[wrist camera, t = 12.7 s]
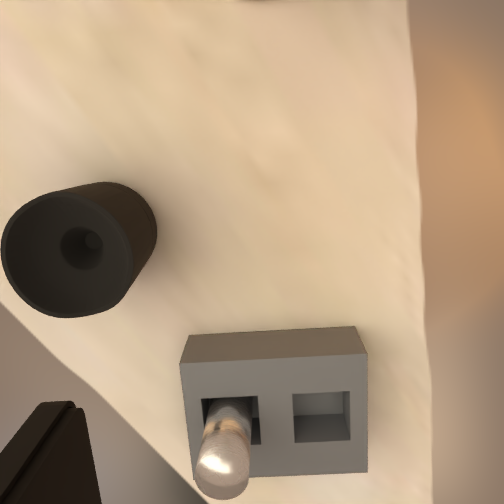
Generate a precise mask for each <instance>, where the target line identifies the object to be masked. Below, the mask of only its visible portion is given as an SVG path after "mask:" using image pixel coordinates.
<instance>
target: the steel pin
mask: <svg viewBox="0 0 504 504" xmlns="http://www.w3.org/2000/svg"><path fill="white" fill-rule="evenodd" d="M252 411H253V396H243V397H223V398H211V401H210V406H209V411H208V415H207V420H206V424H205V429H204V433H203V438H202V442H201V447H200V451H199V456H198V461H197V465H196V470H195V482H196V484H197V486H198V488H199V489H200V490H201V491H202V492H203V493H204V494H205V495H207V496H208V497H211V498H213V499H217V500H228V499H232V498H235V497H237V496H238V495H240V494H241V493H242V492H243V491H244V490H245V488H246V487H247V484H248V479H249V463H250V445H251V428H252Z"/></svg>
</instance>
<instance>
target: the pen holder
mask: <svg viewBox="0 0 504 504" xmlns="http://www.w3.org/2000/svg"><path fill="white" fill-rule="evenodd" d="M156 239H157V226H156V221H155V217H154V215H153V212H152V210H151V209H150V207H149V205H148V204H147V203H146V201H145V200H144V199H143V198H142V197H141V196H140V195H139V194H138V193H136V192H135V191H133V190H132V189H130V188H128V187H126V186H124V185H121V184H117V183H112V182H98V183H92V184H87V185H82V186H77V187H73V188H69V189H64V190H60V191H55V192H51V193H47V194H45V195H42V196H39V197H37V198H35V199H33V200H31V201H30V202H28V203H26V204H25V205H23V206H22V207H21V208H20V209H19V210H17V211H16V212H15V213H14V215H13V216H12V217H11V218H10V219H9V221H8V223H7V225H6V226H5V229H4V232H3V234H2V239H1V249H0V251H1V261H2V265H3V269H4V272H5V275H6V277H7V279H8V281H9V283H10V284H11V286H12V287H13V289H14V290H15V292H16V293H17V294H18V295H19V296H20V297H21V298H22V299H23V300H24V301H25V302H26V303H27V304H28V305H30V306H31V307H32V308H34V309H36V310H37V311H39V312H41V313H43V314H46V315H49V316H53V317H57V318H77V317H84V316H89V315H94V314H97V313H101V312H104V311H107V310H109V309H111V308H112V307H114V306H115V305H116V304H118V303H119V302H120V301H121V299H122V298H123V297H124V296H125V294H126V293H127V291H128V290H129V288H130V287H131V285H132V284H133V282H134V281H135V279H136V278H137V276H138V275H139V273H140V272H141V270H142V269H143V267H144V266H145V264H146V262H147V261H148V259H149V257H150V256H151V254H152V252H153V250H154V247H155V244H156Z"/></svg>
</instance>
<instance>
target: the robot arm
mask: <svg viewBox="0 0 504 504" xmlns="http://www.w3.org/2000/svg"><path fill="white" fill-rule="evenodd" d="M0 504H102V503H101V497H100V492H99V486H98V481H97V476H96V471H95V465H94V460H93V455H92V449H91V445H90V439H89V434H88V428H87V423H86V418H85V413H84V411H83V409H82V408H76V406H75V404H74V402H72V401H55V402H43V403H40V404H39V405H38V406H37V407H36V409H35V410H34V411H33V413H32V414H31V415H30V416H29V417H28V419H27V420H26V421H25V423H24V424H23V425H22V426H21V428H20V429H19V430H18V431H17V433H16V434H15V435H14V437H13V438H12V439H11V440H10V442H9V443H8V444H7V445H6V447H5V448H4V449H3V450H2V452H1V453H0Z"/></svg>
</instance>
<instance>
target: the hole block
mask: <svg viewBox="0 0 504 504" xmlns="http://www.w3.org/2000/svg"><path fill="white" fill-rule="evenodd" d="M179 366H180V374H181V382H182V390H183V398H184V406H185V414H186V423H187V431H188V439H189V447H190V455H191V463H192V471H193V480H195V470H196V465H197V461H198V456H199V451H200V447H201V442H202V438H203V433H204V429H205V424H206V420H207V415H208V411H209V406H210V401H211V398H223V397H243V396H253V411H252V428H251V445H250V463H249V478H252V477H275V476H297V475H320V474H343V473H366V472H368V432H367V352H366V350H365V348H364V345H363V343H362V341H361V339H360V337H359V335H358V333H357V330H356V328H355V326H349V327H330V328H312V329H294V330H276V331H258V332H240V333H222V334H204V335H189V336H188V339H187V342H186V345H185V348H184V351H183V354H182V357H181V360H180V363H179Z"/></svg>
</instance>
